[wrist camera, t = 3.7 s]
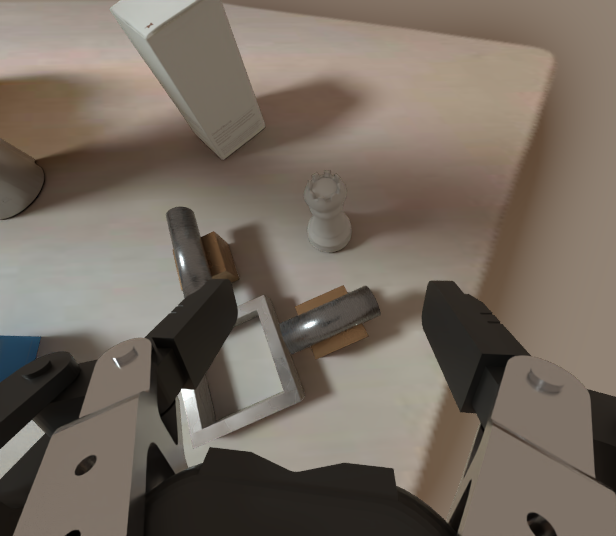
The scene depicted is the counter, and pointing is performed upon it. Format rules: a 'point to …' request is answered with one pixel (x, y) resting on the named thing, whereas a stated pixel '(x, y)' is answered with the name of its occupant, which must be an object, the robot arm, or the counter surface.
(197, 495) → the robot arm
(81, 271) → the counter surface
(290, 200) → the counter surface
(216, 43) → the supplement box
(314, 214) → the rook chess piece
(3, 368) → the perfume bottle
